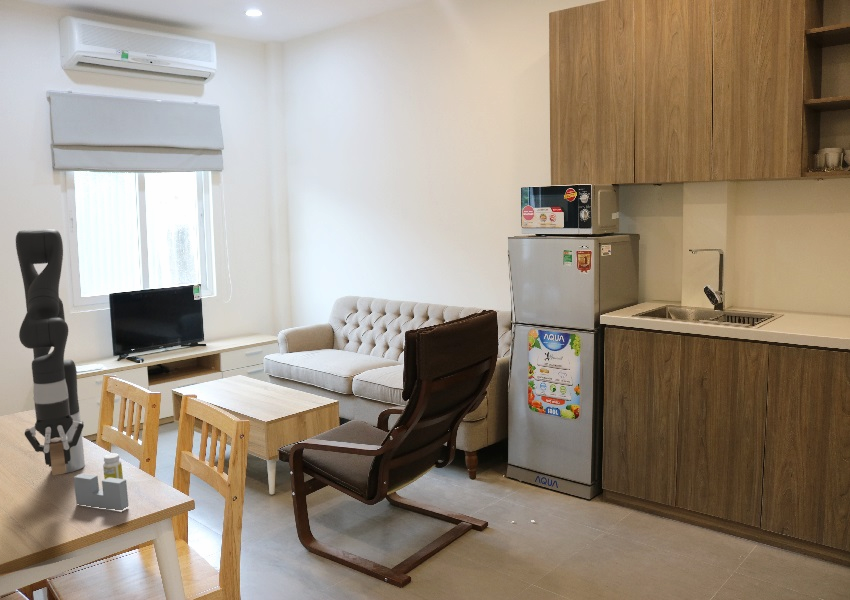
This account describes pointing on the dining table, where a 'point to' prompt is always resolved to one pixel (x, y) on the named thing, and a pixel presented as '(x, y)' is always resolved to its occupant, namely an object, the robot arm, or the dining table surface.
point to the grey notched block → (101, 492)
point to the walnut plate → (57, 456)
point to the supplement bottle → (112, 466)
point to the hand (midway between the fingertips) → (58, 464)
